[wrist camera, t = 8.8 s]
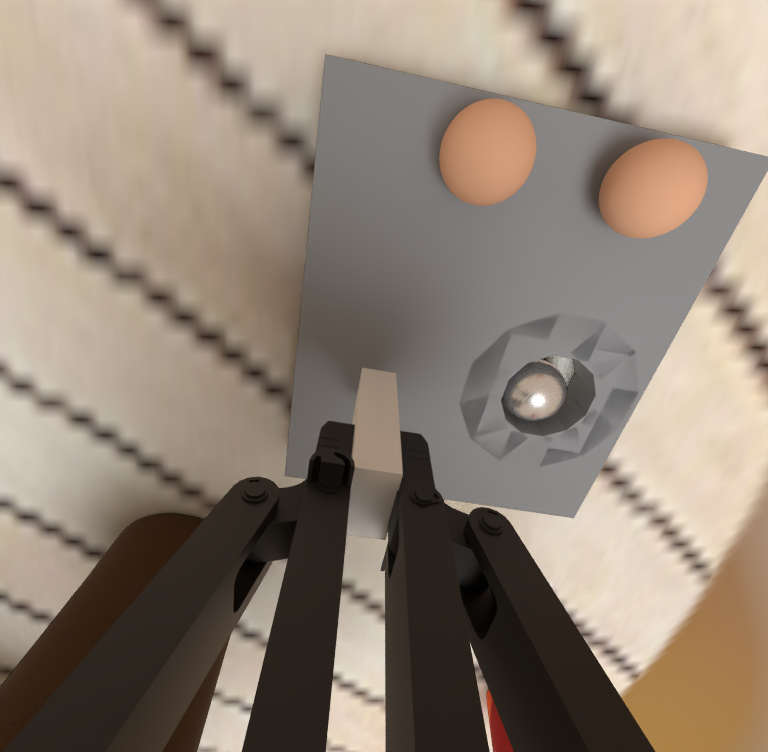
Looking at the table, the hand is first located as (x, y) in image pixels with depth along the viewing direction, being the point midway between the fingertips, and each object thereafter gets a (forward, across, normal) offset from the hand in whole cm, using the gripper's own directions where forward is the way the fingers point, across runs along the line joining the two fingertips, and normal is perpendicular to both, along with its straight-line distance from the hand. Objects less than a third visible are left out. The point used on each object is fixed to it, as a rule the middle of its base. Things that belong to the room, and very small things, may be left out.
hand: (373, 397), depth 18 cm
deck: (+4, -5, -3) cm, 7 cm away
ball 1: (0, -2, -10) cm, 10 cm away
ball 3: (0, -8, -10) cm, 13 cm away
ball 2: (+3, -8, 0) cm, 9 cm away
